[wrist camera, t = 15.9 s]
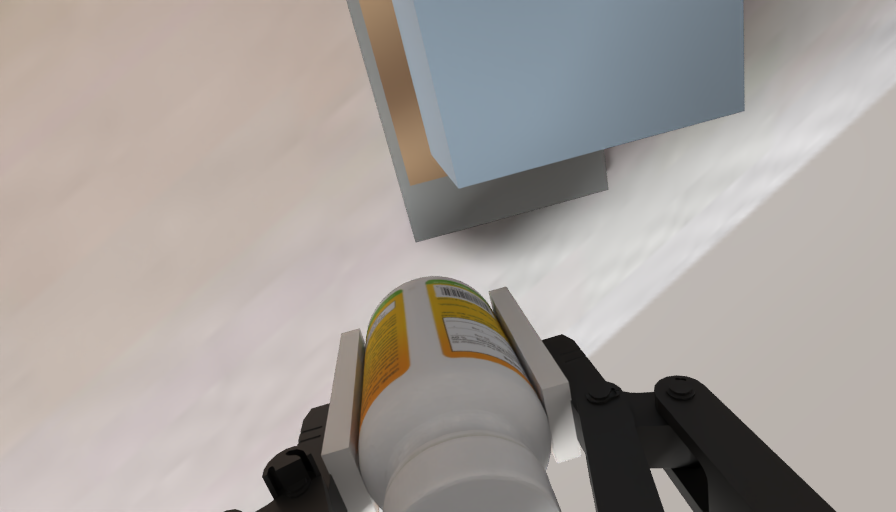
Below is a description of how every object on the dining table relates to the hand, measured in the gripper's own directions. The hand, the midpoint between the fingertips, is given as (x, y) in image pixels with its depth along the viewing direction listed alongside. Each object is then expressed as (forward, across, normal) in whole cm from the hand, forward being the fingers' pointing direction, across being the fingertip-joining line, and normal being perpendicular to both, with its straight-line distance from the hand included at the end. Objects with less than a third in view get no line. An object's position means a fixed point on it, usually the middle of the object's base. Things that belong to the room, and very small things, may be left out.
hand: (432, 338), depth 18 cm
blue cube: (+1, +5, +11) cm, 12 cm away
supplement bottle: (+1, 0, 0) cm, 1 cm away
